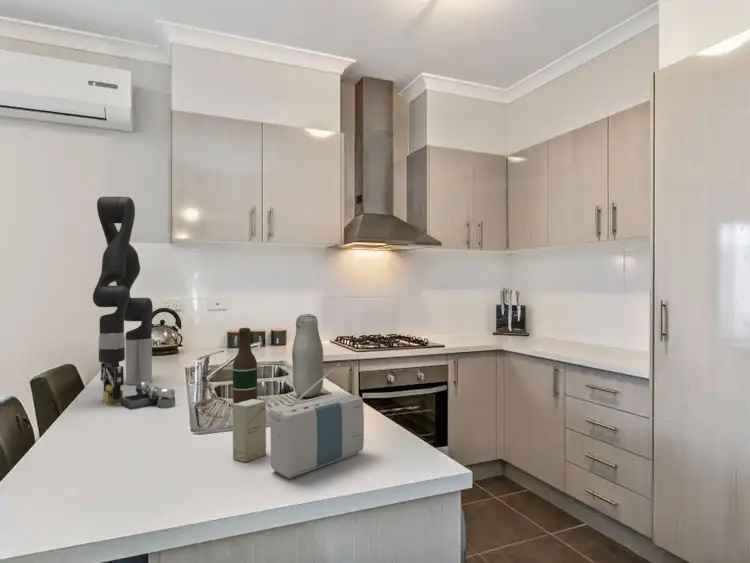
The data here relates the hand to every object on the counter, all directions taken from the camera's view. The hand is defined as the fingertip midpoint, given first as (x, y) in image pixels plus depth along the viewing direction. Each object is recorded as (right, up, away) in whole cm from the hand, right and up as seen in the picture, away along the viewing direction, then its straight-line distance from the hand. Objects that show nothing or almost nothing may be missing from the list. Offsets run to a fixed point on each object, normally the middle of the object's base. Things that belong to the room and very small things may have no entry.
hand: (112, 396), depth 157 cm
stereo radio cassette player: (+73, -2, -53) cm, 91 cm away
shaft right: (+18, -2, -4) cm, 19 cm away
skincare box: (+58, -2, -49) cm, 76 cm away
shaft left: (+8, -2, +6) cm, 10 cm away
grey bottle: (+63, -2, +7) cm, 63 cm away
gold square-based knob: (0, -2, 0) cm, 2 cm away
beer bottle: (+43, -2, +1) cm, 43 cm away
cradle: (+10, -2, -2) cm, 10 cm away
